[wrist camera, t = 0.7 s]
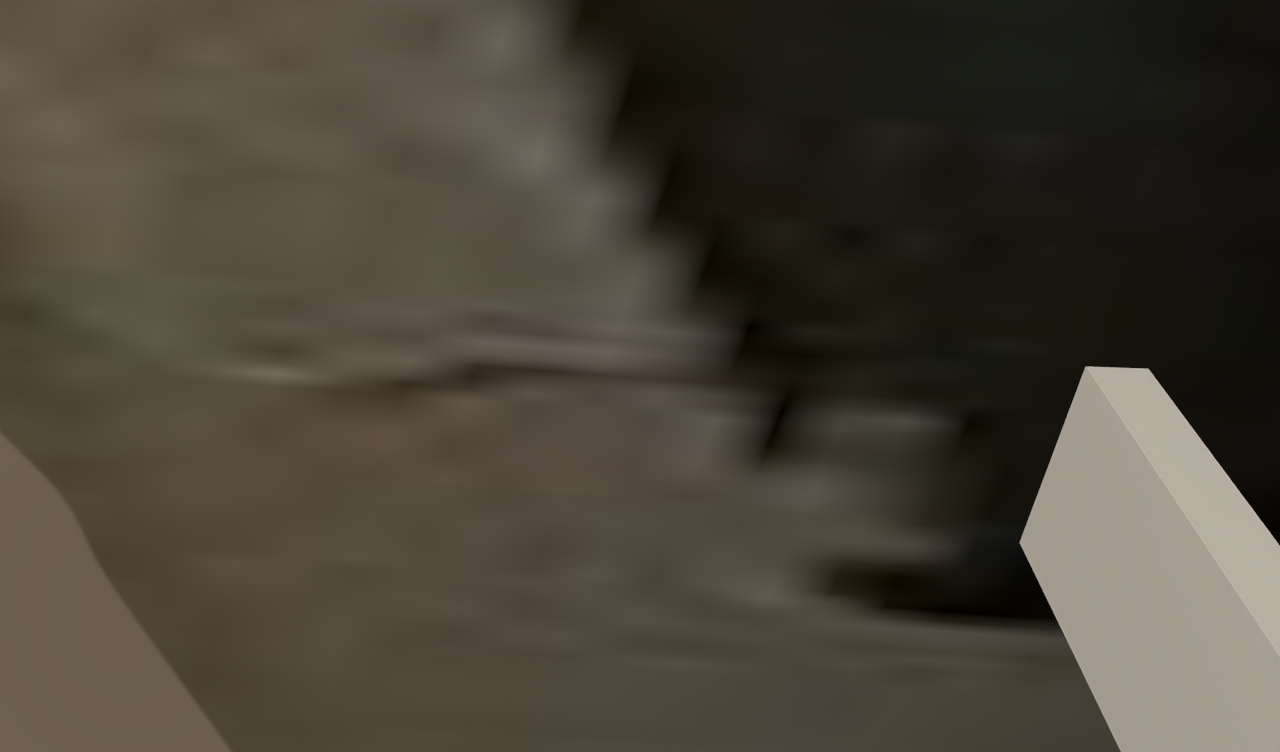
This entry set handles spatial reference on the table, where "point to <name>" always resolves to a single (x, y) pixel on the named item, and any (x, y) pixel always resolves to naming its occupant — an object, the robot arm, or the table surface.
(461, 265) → the table surface
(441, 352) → the table surface
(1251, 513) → the robot arm
